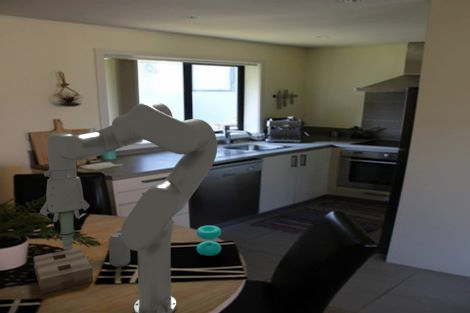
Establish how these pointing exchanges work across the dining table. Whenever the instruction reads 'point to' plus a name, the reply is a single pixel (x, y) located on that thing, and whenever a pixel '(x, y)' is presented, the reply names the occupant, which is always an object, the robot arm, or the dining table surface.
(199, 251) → the donuts
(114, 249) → the can
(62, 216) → the peg
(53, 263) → the block
